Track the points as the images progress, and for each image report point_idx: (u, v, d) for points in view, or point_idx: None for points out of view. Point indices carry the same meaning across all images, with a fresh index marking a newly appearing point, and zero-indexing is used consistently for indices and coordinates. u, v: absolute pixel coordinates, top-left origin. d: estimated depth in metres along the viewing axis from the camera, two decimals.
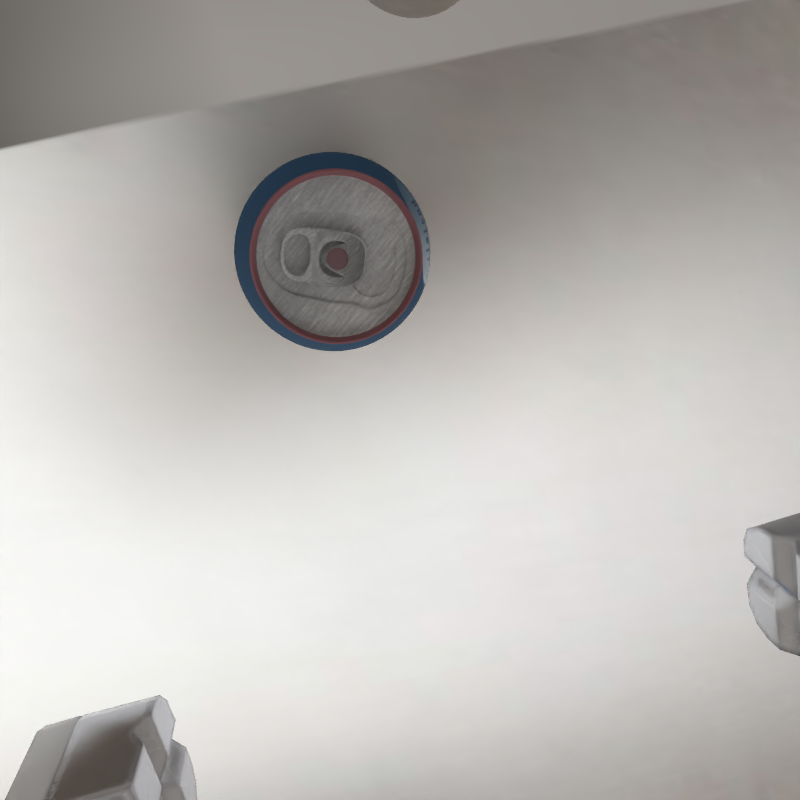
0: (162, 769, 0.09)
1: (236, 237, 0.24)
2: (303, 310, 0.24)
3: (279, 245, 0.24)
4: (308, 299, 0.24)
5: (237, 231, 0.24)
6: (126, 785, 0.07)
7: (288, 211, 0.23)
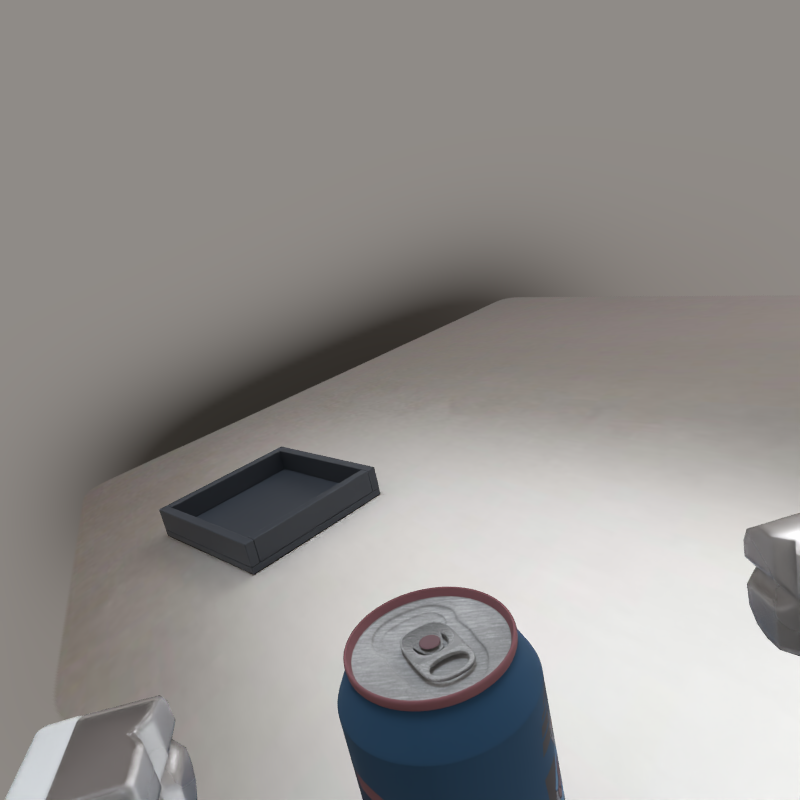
0: (162, 769, 0.09)
1: (486, 745, 0.21)
2: (493, 636, 0.23)
3: (454, 684, 0.22)
4: (481, 640, 0.23)
5: (480, 748, 0.21)
6: (127, 785, 0.07)
7: (419, 694, 0.21)
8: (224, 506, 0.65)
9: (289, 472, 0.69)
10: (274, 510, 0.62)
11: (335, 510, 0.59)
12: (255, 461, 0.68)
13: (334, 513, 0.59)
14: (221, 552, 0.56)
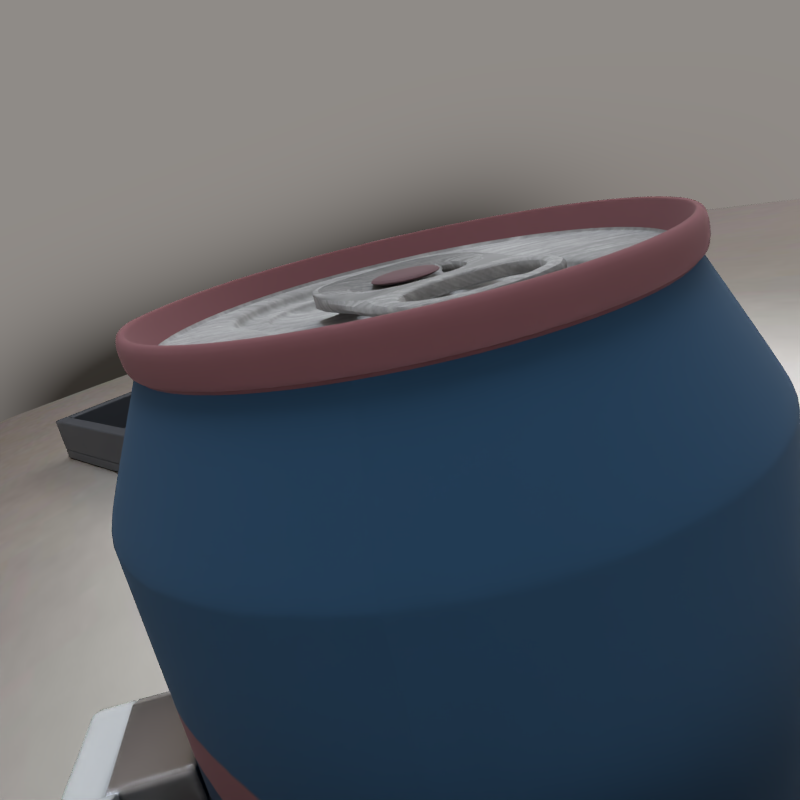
0: None
1: (654, 518, 0.05)
2: (610, 246, 0.07)
3: None
4: (572, 259, 0.07)
5: (629, 531, 0.05)
6: (190, 768, 0.08)
7: None
8: None
9: None
10: None
11: None
12: None
13: None
14: None
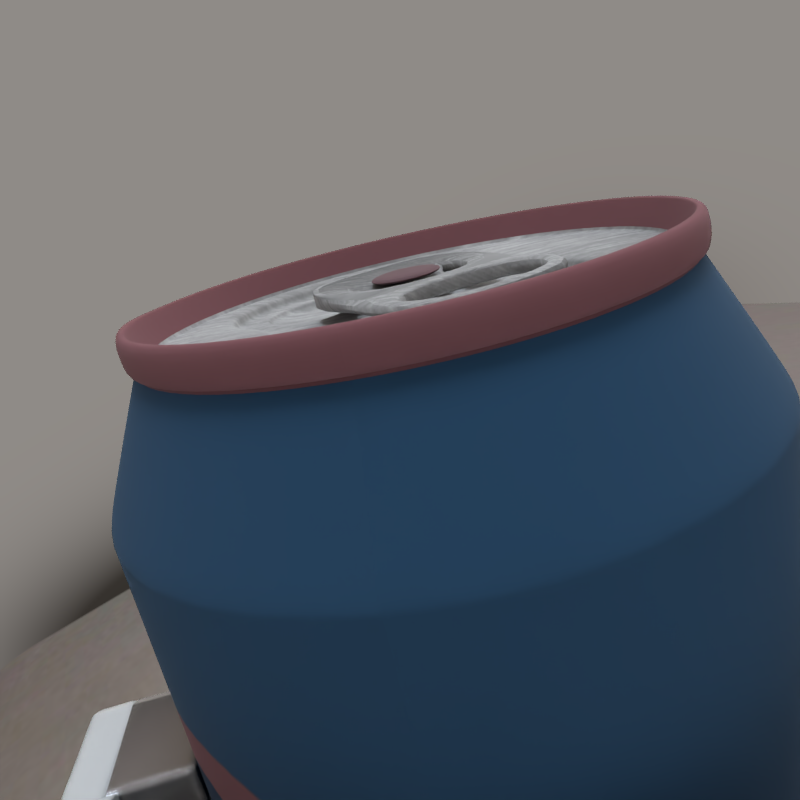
0: None
1: (656, 517, 0.05)
2: (611, 245, 0.07)
3: None
4: (573, 259, 0.07)
5: (630, 531, 0.05)
6: (190, 768, 0.08)
7: None
8: None
9: None
10: None
11: None
12: None
13: None
14: None
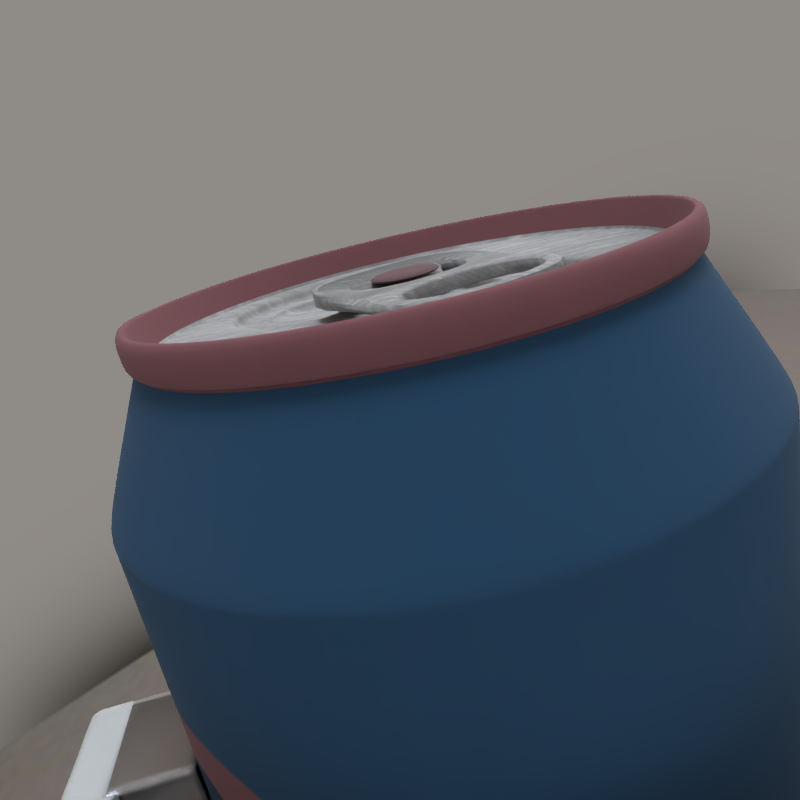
0: None
1: (653, 515, 0.05)
2: (609, 244, 0.07)
3: None
4: (571, 258, 0.07)
5: (628, 528, 0.05)
6: (191, 767, 0.08)
7: None
8: None
9: None
10: None
11: None
12: None
13: None
14: None
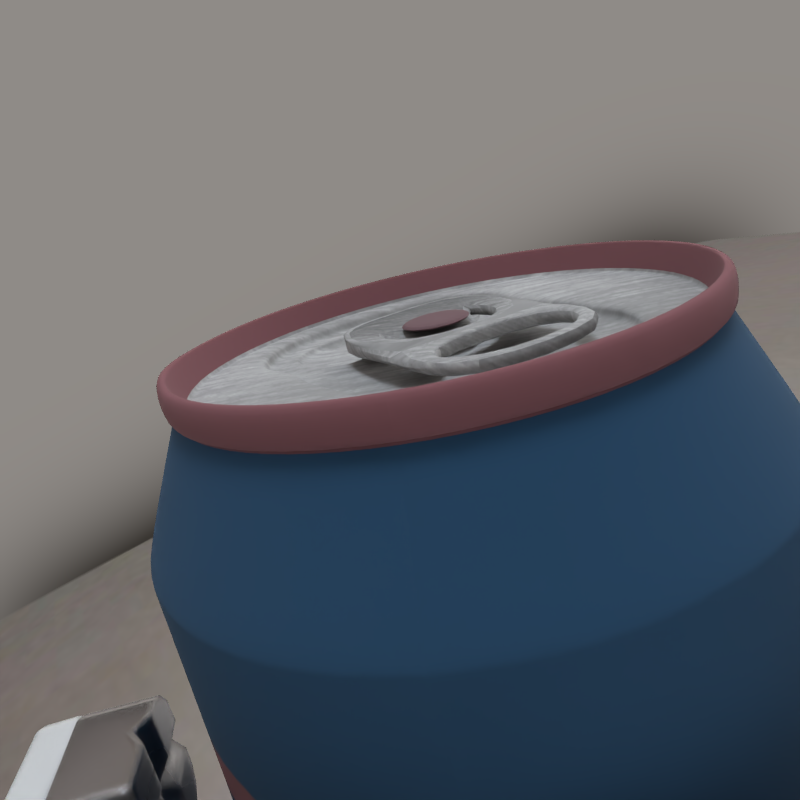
0: (162, 769, 0.09)
1: (693, 579, 0.05)
2: (636, 292, 0.07)
3: None
4: (599, 305, 0.07)
5: (669, 592, 0.05)
6: (127, 785, 0.07)
7: None
8: None
9: None
10: None
11: None
12: None
13: None
14: None
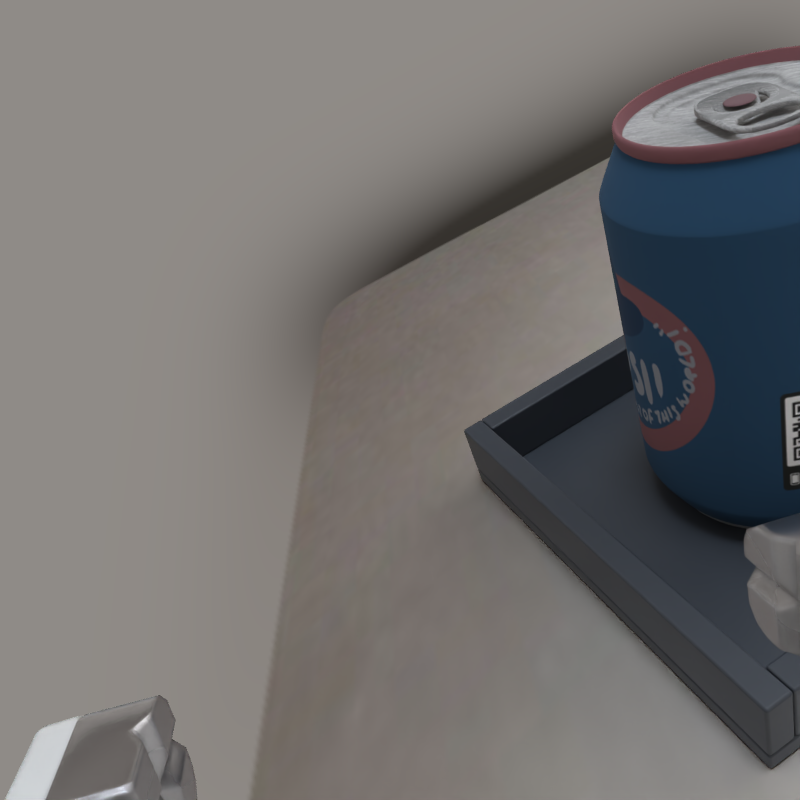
0: (162, 769, 0.09)
1: None
2: None
3: None
4: None
5: None
6: (127, 785, 0.07)
7: None
8: (610, 419, 0.27)
9: None
10: None
11: None
12: None
13: None
14: (644, 630, 0.20)
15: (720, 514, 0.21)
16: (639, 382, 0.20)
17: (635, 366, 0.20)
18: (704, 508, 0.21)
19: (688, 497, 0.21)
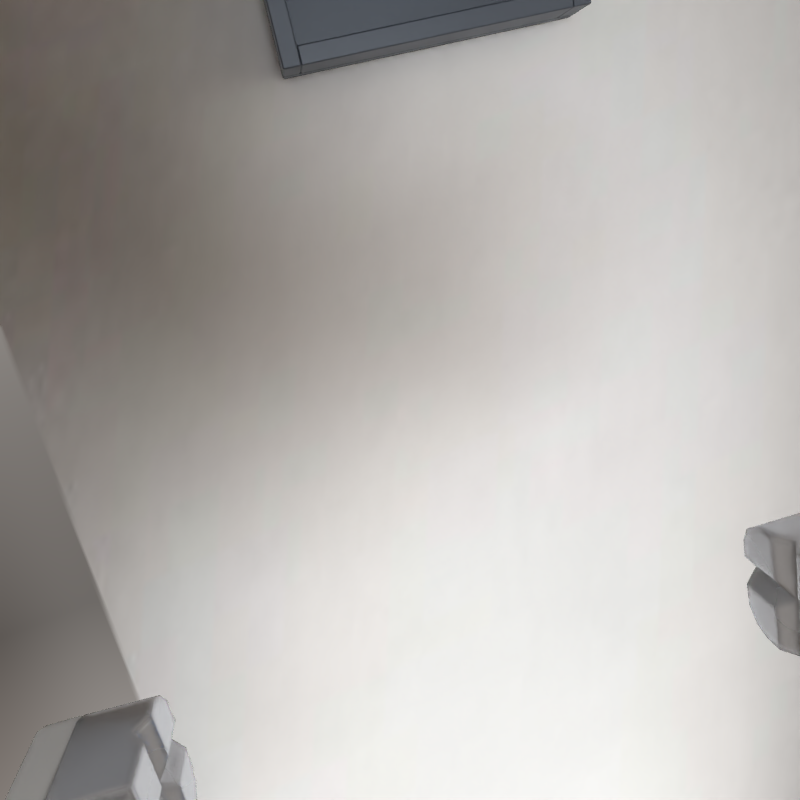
0: (162, 769, 0.09)
1: None
2: None
3: None
4: None
5: None
6: (126, 786, 0.07)
7: None
8: None
9: None
10: None
11: (469, 35, 0.32)
12: None
13: (466, 36, 0.32)
14: None
15: None
16: None
17: None
18: None
19: None
